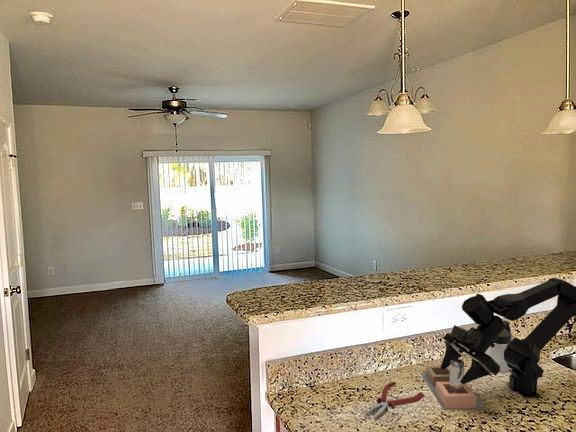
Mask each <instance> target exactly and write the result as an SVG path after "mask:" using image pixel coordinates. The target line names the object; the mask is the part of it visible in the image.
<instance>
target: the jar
mask: <svg viewBox="0 0 576 432" xmlns="http://www.w3.org/2000/svg"><path fill="white" fill-rule="evenodd" d="M512 336H513V335H512V331H511V332H510V333H509V332H507V331H505V330H503V331H502V332H501V333H500V335H499V336H498V337H497V338H496V340H495V341H494V342H493V344H494V345H495V346H494V348H492V347H489V348H488V349H487V351H486V352H485V353H486V354H487V355H489V356H491V357H492V358H493V359H494V360H495V361H496V362H497V363H498V364H499V365H500V371H499V372H500V373H506V372H508V371H511V370H512V369H511V368H509V367H507V363H506V362H505V360H504V350H505V349H506V348H507V347H506V345H508V344H509V343H510V342H511V341H512V340H513V339H512V338H513V337H512ZM499 372H498V373H499Z"/></svg>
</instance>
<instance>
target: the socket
mask: <svg viewBox="0 0 576 432" xmlns="http://www.w3.org/2000/svg"><path fill="white" fill-rule="evenodd" d="M469 387H470V385H468V383H466V384H463V393H458V394H449V382H436V395H437V396H438V398H439V399H440V401H441V402H442V404H443V406H444V407H445V409H448V408H476V396H477V394H476V393H475V392H474V391H473V389H470V388H471V387H470V388H469ZM473 392H474V393H475V394H474V393H473Z"/></svg>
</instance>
